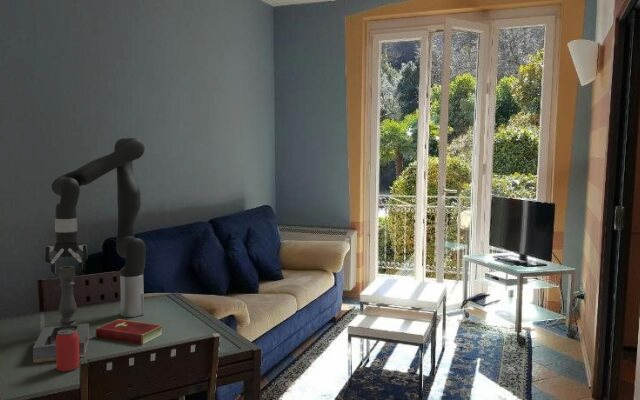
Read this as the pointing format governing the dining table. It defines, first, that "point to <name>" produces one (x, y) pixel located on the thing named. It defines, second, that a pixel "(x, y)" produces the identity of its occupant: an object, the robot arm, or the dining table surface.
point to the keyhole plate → (47, 342)
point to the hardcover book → (129, 331)
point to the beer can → (67, 350)
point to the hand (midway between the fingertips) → (67, 272)
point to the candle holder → (67, 296)
